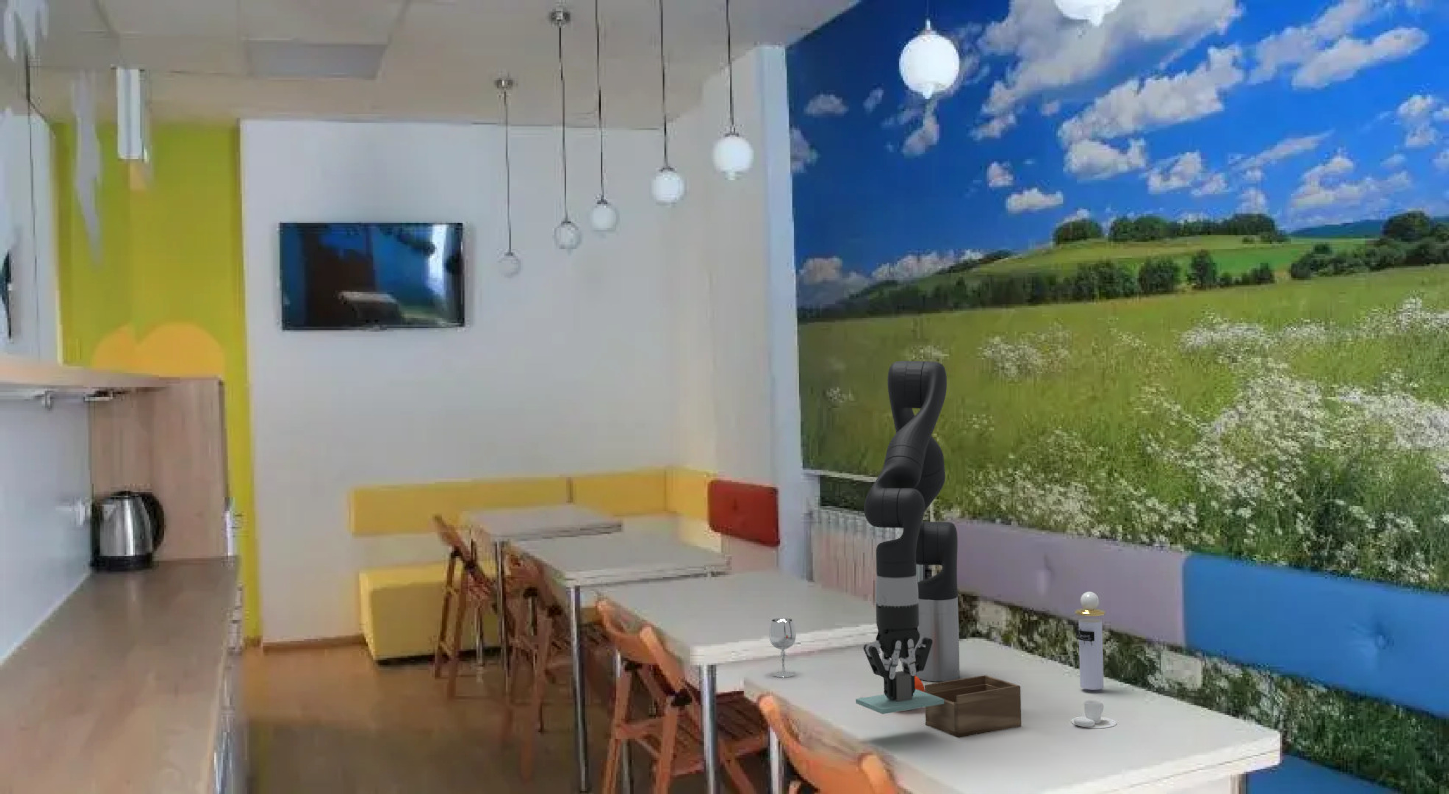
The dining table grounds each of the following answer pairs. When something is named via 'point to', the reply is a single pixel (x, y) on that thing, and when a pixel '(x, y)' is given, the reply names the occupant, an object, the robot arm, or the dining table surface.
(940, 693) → the box
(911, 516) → the robot arm
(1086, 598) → the perfume bottle
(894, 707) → the cover plate
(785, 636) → the wineglass
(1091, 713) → the teacup and saucer
